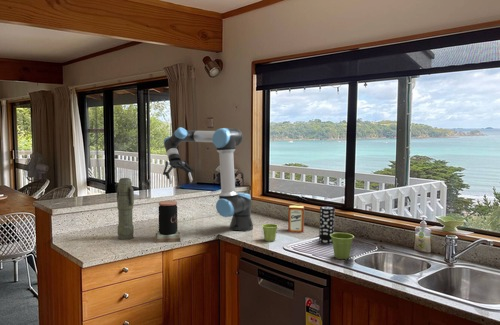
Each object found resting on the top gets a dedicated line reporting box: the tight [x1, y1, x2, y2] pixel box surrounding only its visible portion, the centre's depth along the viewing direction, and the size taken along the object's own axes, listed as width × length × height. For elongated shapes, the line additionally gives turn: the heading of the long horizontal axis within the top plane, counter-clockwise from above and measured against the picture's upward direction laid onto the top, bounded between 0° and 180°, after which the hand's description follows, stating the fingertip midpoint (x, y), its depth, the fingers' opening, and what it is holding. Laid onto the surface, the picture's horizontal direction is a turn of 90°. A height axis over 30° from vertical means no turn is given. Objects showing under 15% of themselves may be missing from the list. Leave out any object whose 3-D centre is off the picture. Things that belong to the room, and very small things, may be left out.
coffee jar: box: [158, 200, 178, 235], centre depth 238 cm, size 11×11×18 cm
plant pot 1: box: [261, 223, 279, 242], centre depth 239 cm, size 9×9×9 cm
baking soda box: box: [287, 205, 305, 233], centre depth 260 cm, size 10×6×16 cm
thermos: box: [116, 177, 135, 241], centre depth 239 cm, size 9×12×35 cm
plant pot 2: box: [330, 232, 355, 260], centre depth 208 cm, size 12×12×11 cm
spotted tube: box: [318, 206, 336, 245], centre depth 235 cm, size 8×8×20 cm
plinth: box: [154, 229, 181, 244], centre depth 239 cm, size 14×14×4 cm
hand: (181, 181), depth 260 cm, fingers open, 13 cm apart
